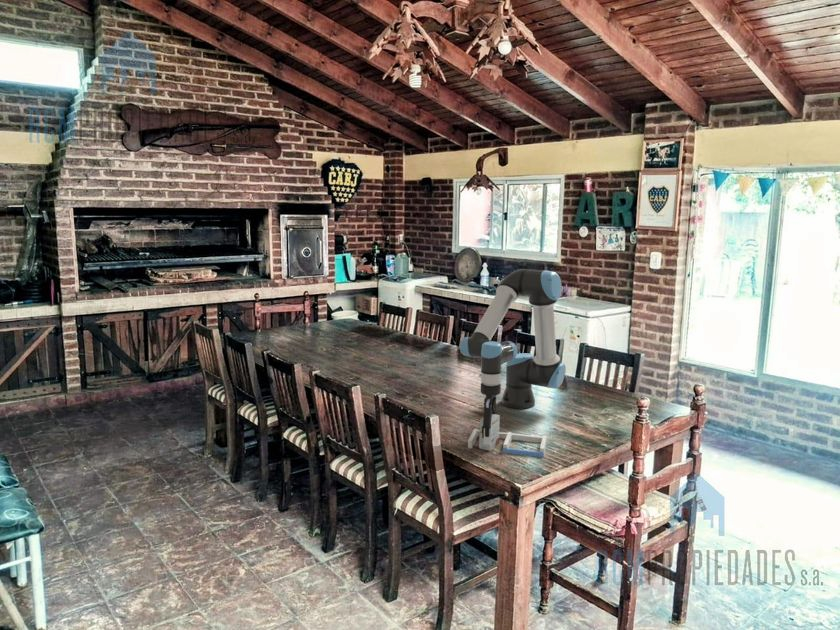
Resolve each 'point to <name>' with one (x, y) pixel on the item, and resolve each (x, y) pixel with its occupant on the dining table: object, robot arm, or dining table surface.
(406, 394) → the dining table surface
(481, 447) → the ink box
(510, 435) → the white and blue frame
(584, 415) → the dining table surface
